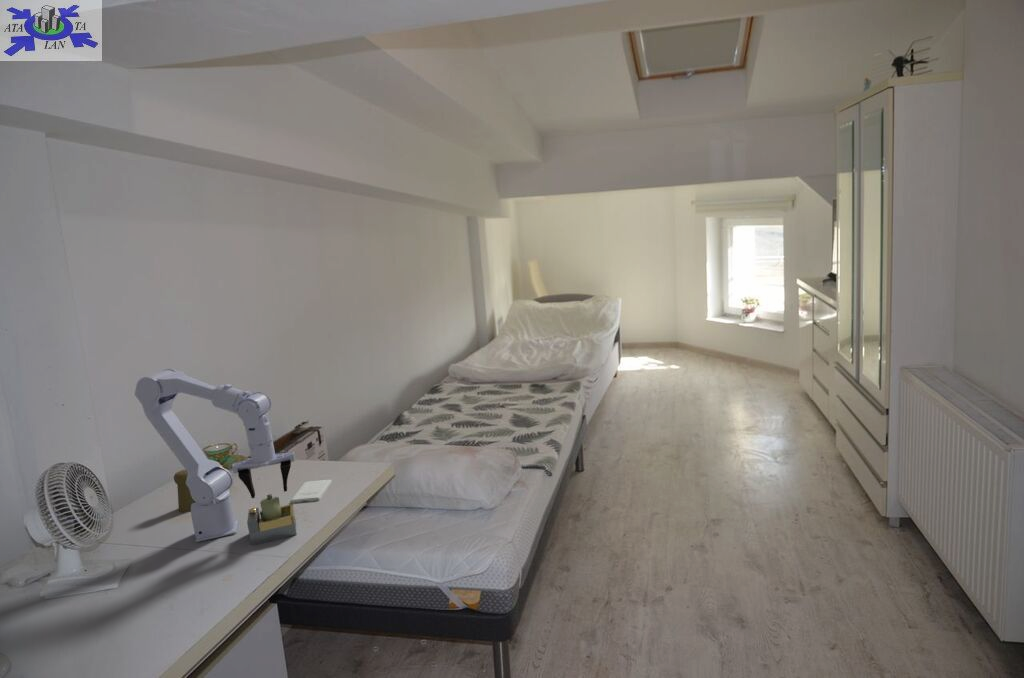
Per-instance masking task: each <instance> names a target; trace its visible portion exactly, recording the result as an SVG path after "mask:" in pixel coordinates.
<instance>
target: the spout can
mask: <svg viewBox="0 0 1024 678" xmlns="http://www.w3.org/2000/svg"><path fill="white" fill-rule="evenodd" d="M259 503H260V508H261V511H262V515H263V520H264V521H268V520H273V519H277V518H281V517H282V513H281V503H280V497H278V496H273V494H272V493H268V494H267V495H266V498H264V499H262V500H261V501H259Z"/></svg>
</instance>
